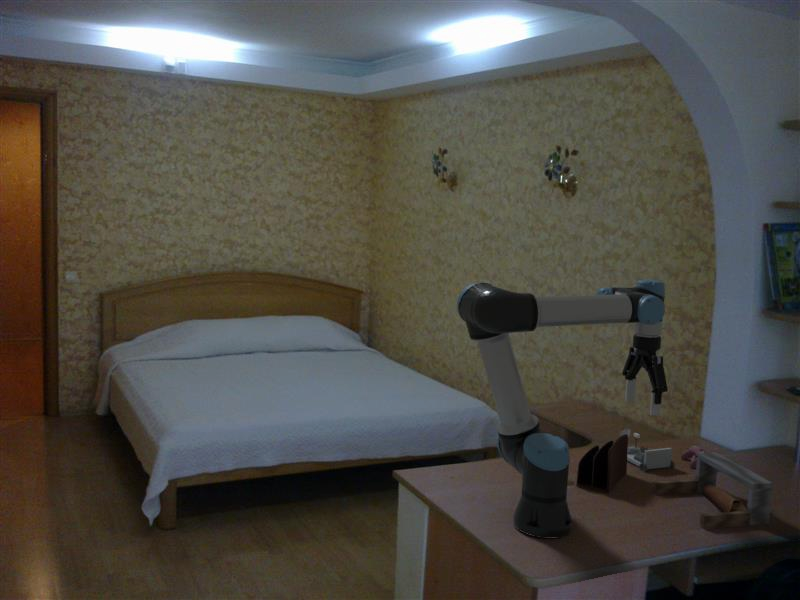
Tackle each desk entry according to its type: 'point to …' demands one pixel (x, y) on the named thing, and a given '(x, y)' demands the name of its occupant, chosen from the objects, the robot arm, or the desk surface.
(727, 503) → the sunglasses case
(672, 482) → the walled lane
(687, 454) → the video game controller
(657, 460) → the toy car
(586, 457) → the letter holder
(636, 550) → the desk surface
